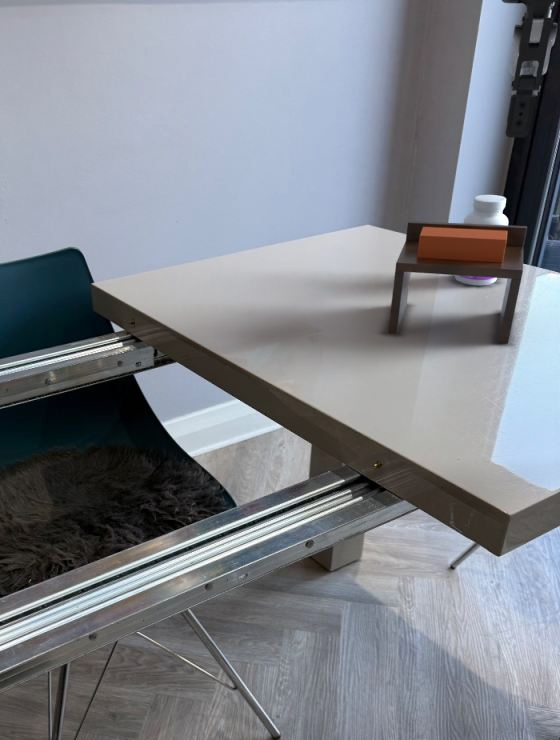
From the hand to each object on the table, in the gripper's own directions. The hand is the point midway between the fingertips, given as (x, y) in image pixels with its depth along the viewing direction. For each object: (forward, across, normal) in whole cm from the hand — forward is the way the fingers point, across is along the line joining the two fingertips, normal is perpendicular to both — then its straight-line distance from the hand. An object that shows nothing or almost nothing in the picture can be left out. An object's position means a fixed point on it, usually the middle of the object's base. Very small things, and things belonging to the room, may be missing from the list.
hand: (516, 130), depth 83 cm
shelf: (+28, +17, +4) cm, 33 cm away
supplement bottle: (+28, +38, +1) cm, 47 cm away
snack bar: (+18, +16, +4) cm, 25 cm away
